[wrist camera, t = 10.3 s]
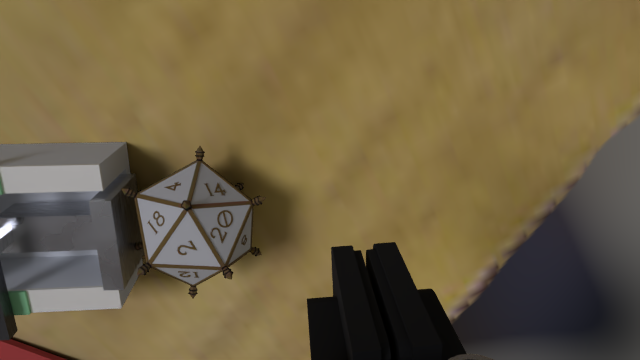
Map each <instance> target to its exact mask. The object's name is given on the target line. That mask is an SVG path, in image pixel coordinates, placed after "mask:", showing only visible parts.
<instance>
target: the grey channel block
mask: <svg viewBox="0 0 640 360" xmlns="http://www.w3.org/2000/svg"><path fill="white" fill-rule="evenodd" d="M122 188H130V189H131V190H134V192H136V193H138V189H137V181H136V174H119V175H118V176H117V177H116V178H115V179H114V180H113V181H112V182H111V183H110V184H109V185H108V186H107V187H106V188H105V189H104V190H103V191H99V192H98V193H97V194H96V195H95V196H94V197H93V198H92V199H91V200H90V201H83V202H48V203H14V204H13V205H11V206H10V207H9V208H7V209H6V210H4V211H3V212H2V213H0V253H1V252H2V253H27V252H54V251H81V250H97V254H98V260H99V265H100V271H101V277H102V283H103V289H104V291H106V290H124V289H125V287H126V286H127V284H128V282H129V280H130V278H131V277H132V275H133V273H134V271H135V270H136V268H137V266H138V264H139V262H140V261H141V259H142V257H143V255H144V250H143V248H142V249H140V250H138V251H137V250H135V247H134V245H135V242H137V243H138V241H140V242H142V240H141V235H140V229H139V223H138V217H137V211H136V205H135V199H134V198H133V197H130V198H129V197H128V196H125V194H124V193H123V191H122V190H121V189H122ZM16 332H17V326H16V322H15V318H14V314H13V310H12V306H11V302H10V298H9V294H8V290H7V286H6V282H5V278H4V274H3V270H2V266H1V262H0V340H10V339H11V338H12V337H13V335H14V334H15V333H16Z"/></svg>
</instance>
